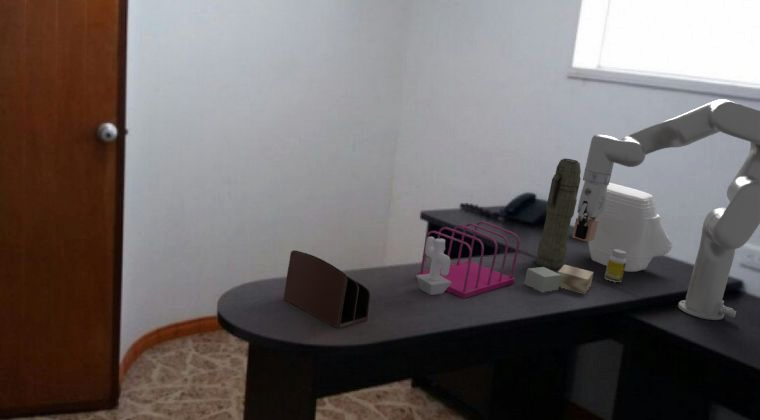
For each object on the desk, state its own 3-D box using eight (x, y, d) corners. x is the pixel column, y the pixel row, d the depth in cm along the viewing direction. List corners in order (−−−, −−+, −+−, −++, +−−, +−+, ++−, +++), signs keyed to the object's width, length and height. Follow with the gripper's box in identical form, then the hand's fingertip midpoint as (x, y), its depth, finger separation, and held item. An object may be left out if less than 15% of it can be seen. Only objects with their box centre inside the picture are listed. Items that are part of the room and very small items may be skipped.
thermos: (527, 261, 246) (548, 157, 237) (548, 257, 254) (569, 156, 245) (549, 270, 240) (571, 164, 231) (570, 266, 248) (592, 163, 239)
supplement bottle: (622, 284, 237) (629, 255, 235) (604, 280, 238) (611, 251, 236) (620, 279, 242) (627, 250, 240) (603, 275, 243) (610, 247, 241)
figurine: (431, 299, 201) (441, 245, 197) (410, 286, 208) (419, 234, 204) (452, 296, 205) (461, 244, 201) (431, 283, 212) (439, 233, 209)
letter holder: (337, 330, 173) (345, 272, 170) (282, 300, 186) (288, 246, 182) (367, 321, 181) (375, 266, 177) (312, 293, 193) (319, 241, 190)
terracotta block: (594, 239, 225) (598, 220, 223) (588, 242, 221) (592, 222, 219) (578, 234, 228) (582, 215, 226) (572, 237, 224) (576, 218, 222)
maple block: (590, 287, 230) (593, 272, 229) (584, 295, 222) (588, 279, 221) (561, 279, 234) (564, 264, 233) (554, 287, 226) (558, 271, 225)
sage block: (557, 290, 223) (561, 275, 221) (541, 293, 219) (544, 277, 217) (540, 282, 228) (543, 266, 227) (524, 284, 224) (527, 268, 223)
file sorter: (514, 284, 223) (524, 234, 219) (463, 299, 204) (473, 244, 201) (467, 265, 234) (476, 217, 230) (415, 278, 216) (424, 226, 212)
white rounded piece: (597, 249, 274) (613, 180, 267) (667, 274, 255) (685, 201, 249) (565, 256, 259) (581, 183, 253) (637, 282, 241) (655, 205, 234)
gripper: (598, 183, 211) (585, 244, 215) (618, 177, 224) (605, 235, 229) (573, 176, 215) (560, 237, 219) (594, 172, 228) (582, 229, 233)
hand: (583, 235), depth 224 cm, fingers closed on terracotta block, 5 cm apart
